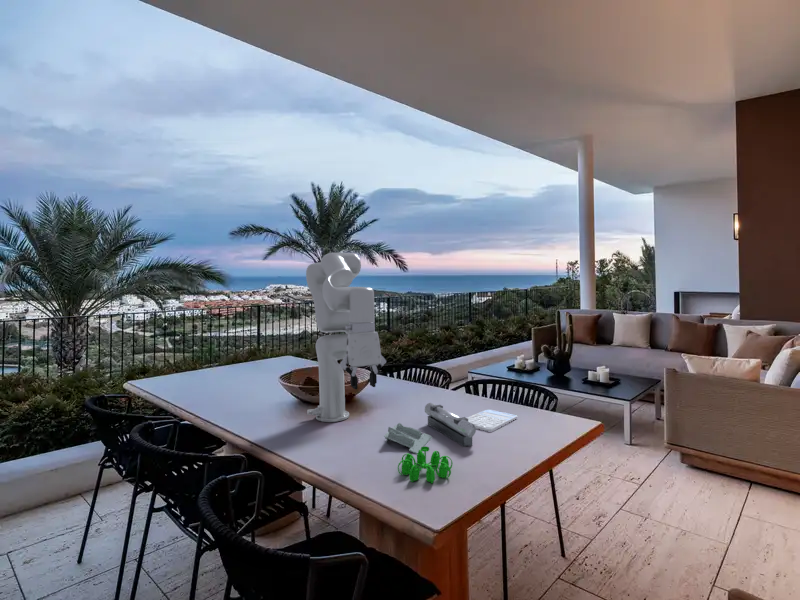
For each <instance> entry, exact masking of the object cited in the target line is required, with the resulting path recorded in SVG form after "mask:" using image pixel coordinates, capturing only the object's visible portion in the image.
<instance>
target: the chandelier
mask: <svg viewBox="0 0 800 600" xmlns="http://www.w3.org/2000/svg"><path fill="white" fill-rule="evenodd" d="M426 452H430V447H429V446H424V447H421V450H419V451H418V453H417V454H416V458H415V457H414V456H413V454H411V453H409V452H408V453H404V454H403V455H402V457H401V461H400V462H399V463H398V465H397V472H398V474H399V475H401V476H404V475H405V476H407V475H408V474H409V475H408V477H409V481H410V482H411V483H414V482H415V481H418V480H419V479H420V472H421V470H422V469H424V470H425V471H426V472H425V477H426V481H427V482H430V484H434V481H435V480H436V479H435V478H436V477H435V475H436V474H437V477H439V478H442V479H444V478H445V479H448V478H450V476H451V474H452V473H451V469H452V467H453V460H452V459H451V457H450V456H447V455H443V456H441V455H440V454H441V453H440V452H439V451H438V450H434V451H433V452H432V454H431V456H430V462H428V463H427V453H426ZM449 460H450V463H449ZM400 465H401V471H400V469H399V468H400ZM449 465H450V466H449ZM435 472H436V474H435ZM448 473H449V474H448ZM402 474H403V475H402Z"/></svg>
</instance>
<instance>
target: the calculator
mask: <svg viewBox="0 0 800 600" xmlns="http://www.w3.org/2000/svg"><path fill="white" fill-rule="evenodd" d="M466 418H467V419H468V422H470V423H472V424H474V425H475V427H476V430H479V429H480V430H479V431H483V430H484V431H483V432H487V431H488V433H492V432H495V431H496V430H499V429H500V428H502V427H504V426H506V425H508V424H510V423H512V422H514V421H516V420H518V419H517V418H519V417H518V415H516V414H513V413H509V412H505V411H504V412H503V411H501V410H494V409H491V408H490V409H484V410H481V411H480V412H477V413H475V414H473V415H470V416H467V417H466ZM515 419H516V420H515ZM513 420H514V421H513ZM511 421H512V422H511ZM509 422H510V423H509ZM505 424H506V425H505ZM503 425H504V426H503ZM501 426H502V427H501Z"/></svg>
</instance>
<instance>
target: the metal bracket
mask: <svg viewBox="0 0 800 600" xmlns="http://www.w3.org/2000/svg"><path fill="white" fill-rule="evenodd" d="M383 437H384V439H386V441H385V443H386V442H387V441H388V442H389V441H393V442H395V443H398V444H400V445H402V446H405V447H408V448H409V449H408V451H409V452H410V453H413V454H416V455H417V453H418V451H419V450H421V447H426V445H427V443H428V442H429V441H431V440H432V439H433V437H432V435H430V434H428V433H426V432H424V433H423V432H422V431H421V430H419V429H416V428H413V427H410V426H409V427H408V426H405V425H403V424H402V423H401V422H398V423H397V424H395V425H394V426H393V427H391V426H388V428H387V432H386V433H385V434H384V435H383ZM388 442H387V443H388Z"/></svg>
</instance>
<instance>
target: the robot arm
mask: <svg viewBox="0 0 800 600" xmlns="http://www.w3.org/2000/svg"><path fill="white" fill-rule="evenodd" d="M361 269H362V263H361V259H360V257H359V256H358V255H357V254H356V253H354V252H328V253H327V254H324V255H323V256H322V258H321V259H320V261H319V262H313V263H311V264H309V265H308V266H307V268H306V271H305V278H306V284H307V287H308V289H309V292H310V295H311V296H312V299H313V304H314V314H315V320H316V327H317V329H318V330H319V332H322V333H337V334H327V335H323V336H322V335H321V336H320V337H319V338H318V339H316V341H315V342H316V343H315V352H316V357H317V365H318V380H319V381H318V384H319V387H318V388H319V390H318V391H319V395H318V396H319V405H317V407H315V408H313V409H307V410H306V412H307V413H306V414H307V415H308V416H309V415H310V416H311V415H312V416H315V419H316V420H317V421H319V422H322V423H336V422H341V421H345V420H347V419H349V417H350V412H349V411H347V410H346V397H345V393H346V392H345V371H346V372H347V373H348V375H350V376H349V377H350V386H351V388H352V389H354V390H358V376H357V370H358V367H359V368H361V367H369V369H370V372H369V385H370V386H371V387H373V388H376V384H378V383H377V381H378V380H377V374H379V371H380V370H381V368H382V367H383V366H384V365H385V364H386V363H387V360H386V358H385V357H384V356H383V355H382V350H381V344H380V337H379V334H378V333H379V332H378V331H376V327H375V326H376V325H375V322H376V321H375V290H374V289H373V287H372V288H371V287H368V286H367V287H365V286H350V285H351V284H352V283H353V280H354V279H356V278H357V277H358V276H359V274H360V272H361ZM340 332H342V333H341V334H338V333H340ZM343 332H344V333H343ZM340 360H341V361H340ZM338 361H340V363H339V362H338ZM347 365H348V366H347ZM349 365H350V367H349Z"/></svg>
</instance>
